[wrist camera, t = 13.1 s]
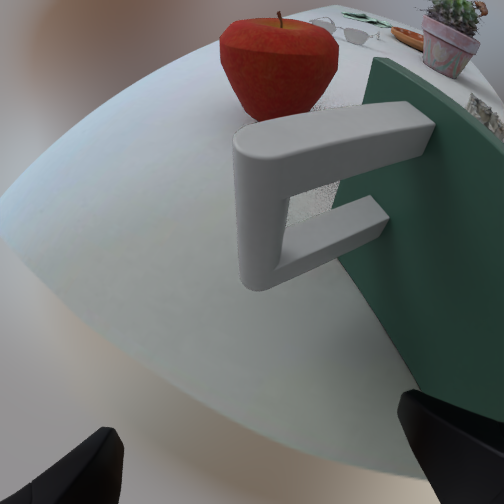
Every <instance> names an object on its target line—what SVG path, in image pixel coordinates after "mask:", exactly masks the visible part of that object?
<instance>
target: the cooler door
mask: <svg viewBox="0 0 504 504" xmlns="http://www.w3.org/2000/svg"><path fill="white" fill-rule="evenodd" d="M232 145H233V167H234V187H235V207H236V225H237V243H238V260H239V276H240V280H241V282H242V284H243V285H244V286H245V287H246V288H248V289H250V290H252V291H264V290H267V289H270V288H272V287H274V286H277V285H279V284H281V283H283V282H285V281H288V280H290V279H292V278H294V277H296V276H299V275H301V274H303V273H305V272H307V271H309V270H312V269H314V268H316V267H318V266H320V265H322V264H324V263H326V262H329V261H331V260H333V259H335V258H338V259H339V261H340V262H341V263H342V265H343V266H344V268H345V269H346V271H347V272H348V274H349V275H350V276H351V278H352V279H353V281H354V282H355V284H356V285H357V287H358V288H359V290H360V291H361V293H362V294H363V296H364V297H365V299H366V300H367V302H368V303H369V305H370V306H371V308H372V309H373V311H374V313H375V314H376V316H377V317H378V319H379V320H380V322H381V323H382V325H383V327H384V328H385V330H386V331H387V333H388V335H389V336H390V338H391V339H392V341H393V343H394V344H395V346H396V348H397V349H398V351H399V353H400V354H401V356H402V358H403V359H404V361H405V363H406V364H407V366H408V368H409V369H410V371H411V373H412V375H413V376H414V378H415V380H416V382H417V383H418V385H419V387H420V389H421V390H422V392H423V393H425V394H428V395H430V396H433V397H435V398H438V399H440V400H443V401H445V402H448V403H450V404H453V405H455V406H458V407H461V408H463V409H466V410H469V411H471V412H474V413H477V414H480V415H483V416H485V417H488V418H491V419H494V420H497V421H500V422H503V423H504V143H503V142H502V141H501V140H500V139H499V138H498V137H496V136H495V135H494V134H493V133H492V132H491V131H490V130H489V129H488V128H487V127H486V126H484V125H483V124H482V123H481V122H480V121H479V120H478V119H476V118H475V117H474V116H473V115H472V114H470V113H469V112H468V111H467V110H465V109H464V108H463V107H462V106H460V105H459V104H458V103H456V102H455V101H454V100H453V99H451V98H450V97H448V96H447V95H446V94H444V93H443V92H442V91H440V90H439V89H437V88H436V87H434V86H433V85H431V84H430V83H428V82H427V81H425V80H424V79H422V78H421V77H419V76H418V75H416V74H414V73H413V72H411V71H410V70H408V69H406V68H405V67H403V66H401V65H399V64H398V63H396V62H394V61H392V60H391V59H389V58H381V57H374V58H373V61H372V65H371V70H370V74H369V78H368V83H367V87H366V91H365V95H364V99H363V103H362V105H355V106H346V107H339V108H332V109H325V110H319V111H312V112H307V113H301V114H296V115H290V116H285V117H280V118H275V119H271V120H266V121H262V122H257V123H253V124H249V125H246V126H244V127H242V128H240V129H239V130H238V131H237V132H236V133H235V135H234V137H233V140H232ZM339 180H340V183H339V187H338V190H337V193H336V196H335V199H334V202H333V205H332V208H331V210H329V211H327V212H324V213H321V214H319V215H316V216H314V217H311V218H308V219H306V220H303V221H301V222H298V223H296V224H293V225H290V226H288V227H285V226H286V220H287V213H288V207H289V201H290V197H291V196H294V195H297V194H300V193H303V192H306V191H309V190H312V189H315V188H318V187H321V186H324V185H327V184H330V183H333V182H336V181H339Z"/></svg>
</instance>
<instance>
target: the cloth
mask: <svg viewBox="0 0 504 504" xmlns="http://www.w3.org/2000/svg"><path fill="white" fill-rule="evenodd" d="M342 13H343V14H344V16H343V17H347V18H351V19H355V20H359V21H363V22H367V21H369V22H368V23H371V24H374V25H376V26H379V27H393V26H392V25H391V24H389V23H388V22H386V21H379V20H377V19H372V18H370V17H368V16H366V15H365V14H355V13H349V12H342Z"/></svg>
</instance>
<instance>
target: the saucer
mask: <svg viewBox="0 0 504 504" xmlns="http://www.w3.org/2000/svg"><path fill="white" fill-rule="evenodd" d="M391 33H392V34H394V35H395V37H396V38H397V39H398V40H400V41H402V42H403V43H405V44H407V45H409V46H411V47H413V48H416V49H418V50H420V51H423V44H424V36H423V35H421V34H418V33H415V32H412V31H409V30H406V29H402V28H398V27H392V28H391Z"/></svg>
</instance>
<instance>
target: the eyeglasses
mask: <svg viewBox="0 0 504 504" xmlns="http://www.w3.org/2000/svg"><path fill="white" fill-rule="evenodd" d="M323 18H328V17H323ZM318 19H320V18H318ZM328 19H330V18H328ZM330 21H331V23H329V22H326V21H321V20H316V19H314V20H309V22H312V24H313V25H317V26H320V27H323V28H325V29H326V30H327V31H329V32H330V34H331V35H332V34H333V33H334V32H335V31H336V28H341V27H336V26H335V24H334V22H333V21H332V20H331V19H330ZM341 29H343V28H341ZM344 34H345V37H346V39H347V40H348V41H349V42H351V43H354V44H357V45H362V44H364V43H365V42H366V41H367V40H368V38H369V37H370V38H372V37H373V36H375V35H372V36H370V35H368V34H367V33H365V32H363V31H360V30H357V29H353V28H345V29H344ZM377 34H378V35H377ZM377 34H376V35H377V39H379V32H378V33H377Z"/></svg>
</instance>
